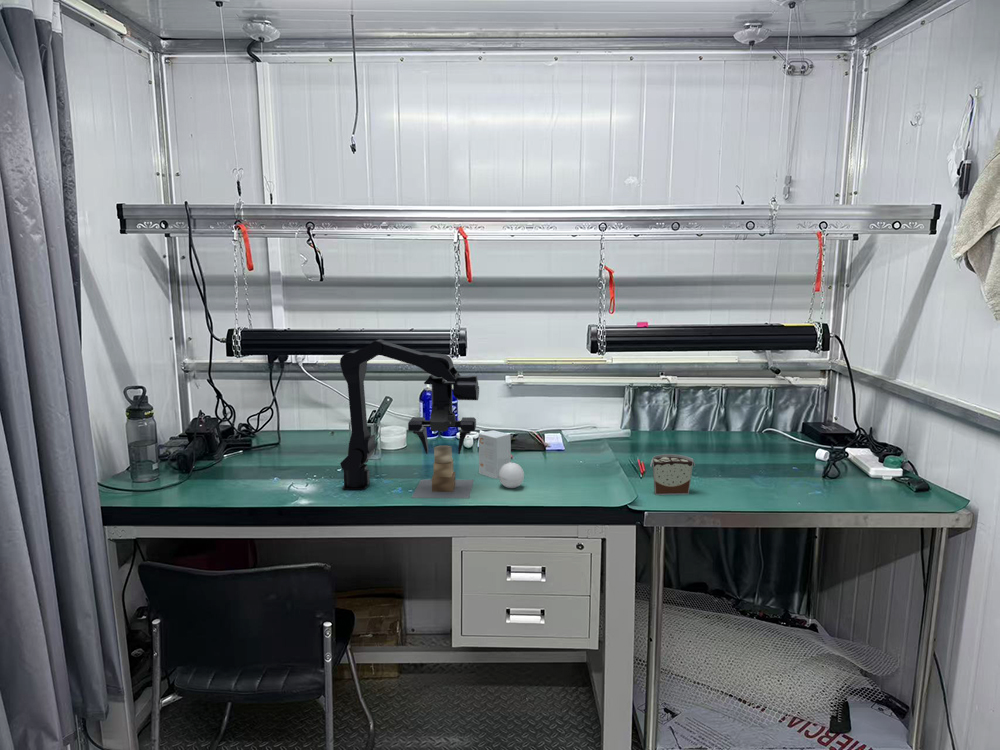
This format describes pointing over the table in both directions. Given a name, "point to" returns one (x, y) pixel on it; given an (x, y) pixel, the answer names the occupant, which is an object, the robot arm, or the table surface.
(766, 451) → the table surface
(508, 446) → the small box
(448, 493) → the coaster
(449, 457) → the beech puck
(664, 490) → the food container
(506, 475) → the white sphere
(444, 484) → the tower base
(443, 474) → the tower top
